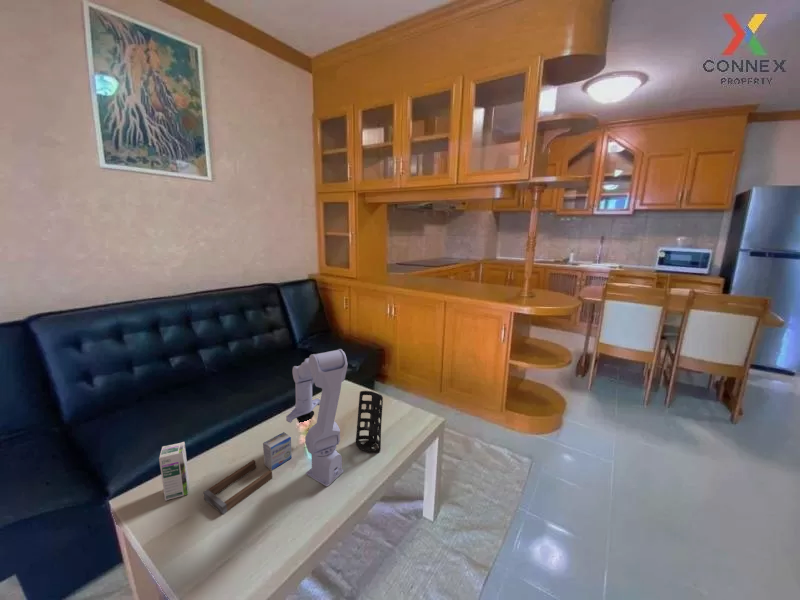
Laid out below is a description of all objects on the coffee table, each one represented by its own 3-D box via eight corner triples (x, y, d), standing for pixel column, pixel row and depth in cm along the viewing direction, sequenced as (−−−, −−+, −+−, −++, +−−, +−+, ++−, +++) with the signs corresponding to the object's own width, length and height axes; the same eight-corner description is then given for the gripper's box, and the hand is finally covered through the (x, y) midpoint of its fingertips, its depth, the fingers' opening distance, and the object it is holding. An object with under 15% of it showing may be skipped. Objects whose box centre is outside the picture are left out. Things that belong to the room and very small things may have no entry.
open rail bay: (272, 478, 105) (272, 471, 105) (222, 514, 92) (222, 507, 91) (253, 466, 110) (253, 459, 109) (204, 499, 96) (203, 491, 96)
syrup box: (164, 501, 95) (158, 458, 92) (167, 487, 100) (161, 445, 97) (187, 495, 97) (182, 452, 94) (189, 481, 103) (184, 440, 99)
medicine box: (271, 471, 108) (270, 448, 106) (263, 464, 111) (262, 442, 109) (292, 458, 114) (291, 436, 112) (284, 452, 117) (283, 431, 115)
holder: (349, 446, 121) (354, 395, 118) (359, 436, 128) (364, 387, 125) (376, 455, 117) (381, 403, 114) (385, 445, 124) (390, 395, 121)
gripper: (311, 385, 126) (311, 416, 129) (279, 401, 114) (281, 436, 117) (324, 390, 123) (324, 423, 126) (293, 408, 111) (294, 443, 114)
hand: (304, 429), depth 121 cm, fingers closed
